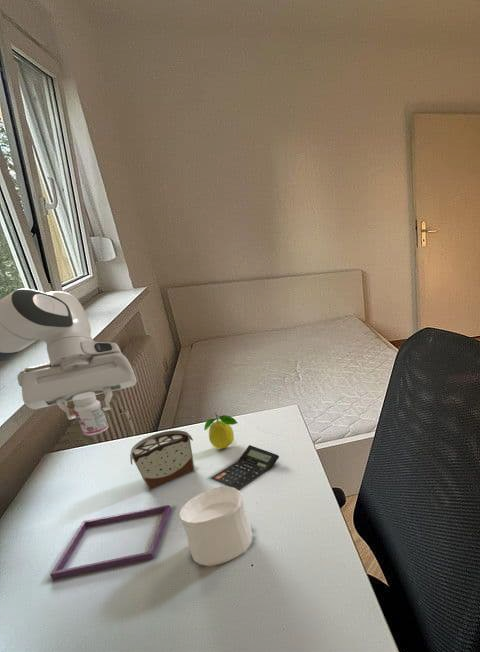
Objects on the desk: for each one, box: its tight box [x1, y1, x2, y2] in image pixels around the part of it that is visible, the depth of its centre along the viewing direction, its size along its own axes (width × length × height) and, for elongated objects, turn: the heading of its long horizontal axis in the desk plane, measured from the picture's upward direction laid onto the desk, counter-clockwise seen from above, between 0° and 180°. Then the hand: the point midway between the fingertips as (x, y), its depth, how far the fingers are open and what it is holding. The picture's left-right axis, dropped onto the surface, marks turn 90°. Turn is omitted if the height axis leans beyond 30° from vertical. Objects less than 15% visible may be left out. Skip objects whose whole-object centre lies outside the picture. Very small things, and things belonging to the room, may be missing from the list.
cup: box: [178, 486, 253, 567], centre depth 75 cm, size 10×10×10 cm
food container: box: [129, 429, 196, 491], centre depth 96 cm, size 12×6×10 cm, turn 135°
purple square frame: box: [49, 504, 172, 581], centre depth 79 cm, size 15×13×2 cm
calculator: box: [210, 444, 280, 491], centre depth 98 cm, size 9×12×3 cm
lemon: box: [204, 412, 238, 449], centre depth 107 cm, size 7×6×10 cm
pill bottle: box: [72, 392, 110, 436], centre depth 95 cm, size 5×5×8 cm
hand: (90, 413), depth 94 cm, fingers closed on pill bottle, 5 cm apart
